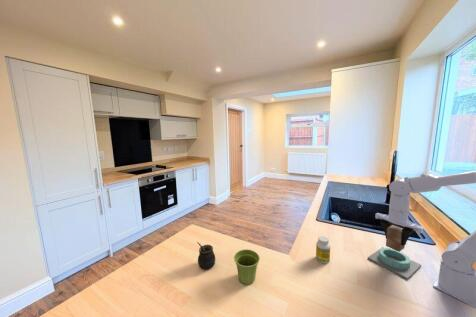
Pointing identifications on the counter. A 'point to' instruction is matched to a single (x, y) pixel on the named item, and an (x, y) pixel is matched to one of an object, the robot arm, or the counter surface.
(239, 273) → the plant pot
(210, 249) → the mate gourd
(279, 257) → the counter surface
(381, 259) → the collar
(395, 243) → the walnut peg
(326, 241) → the supplement bottle
